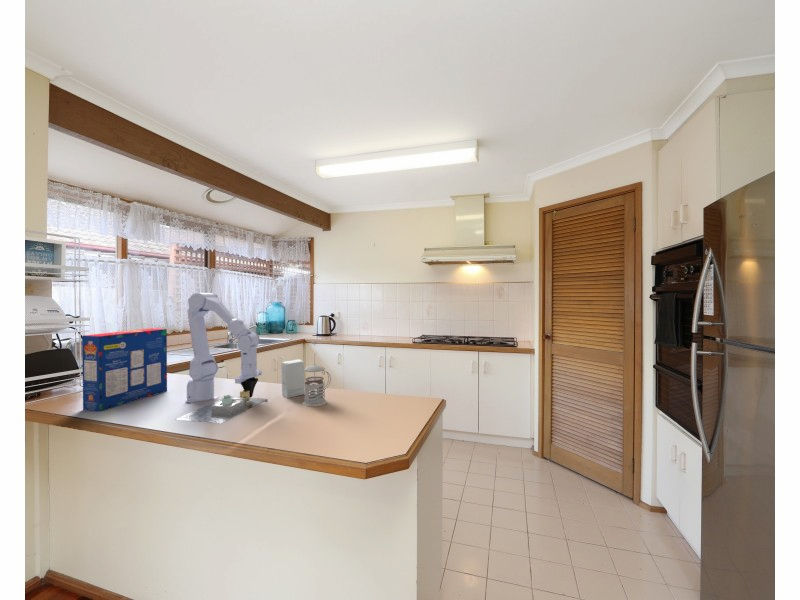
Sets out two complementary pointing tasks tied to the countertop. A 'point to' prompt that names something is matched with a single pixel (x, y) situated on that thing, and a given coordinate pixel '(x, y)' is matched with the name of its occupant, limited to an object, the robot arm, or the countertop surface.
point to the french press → (315, 386)
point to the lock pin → (244, 395)
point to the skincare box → (293, 378)
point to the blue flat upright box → (123, 367)
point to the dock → (221, 410)
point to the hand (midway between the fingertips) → (249, 397)
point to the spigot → (226, 400)
